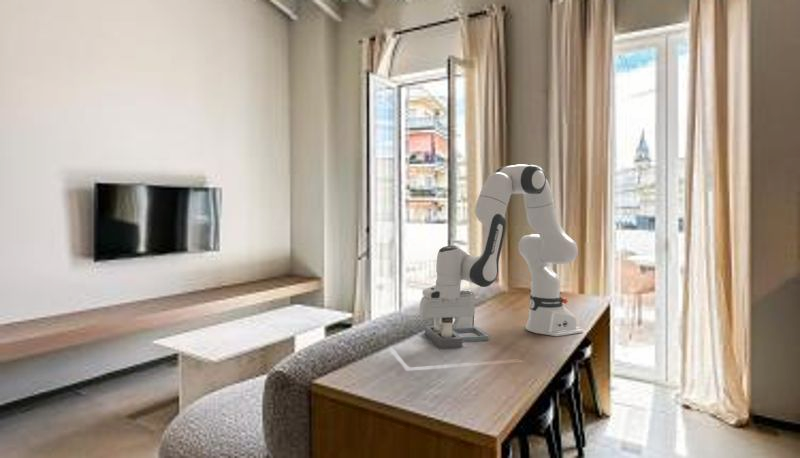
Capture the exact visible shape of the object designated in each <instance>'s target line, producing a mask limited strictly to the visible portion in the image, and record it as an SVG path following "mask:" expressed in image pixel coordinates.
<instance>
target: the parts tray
mask: <svg viewBox="0 0 800 458" xmlns="http://www.w3.org/2000/svg"><path fill="white" fill-rule="evenodd" d="M452 331H453V332H454V333H456V334H457V335H458V336H460V337H461V338H462V343H463V342H477V341H489V335H488V334H487V333H485V332H483V331H482V330H481V329H479V328H477V327H475V326H473V327H470V328H457V329H452ZM473 332H474V333H475V334H477V335H475V336H474V335H473V336H472V335H471V336H461V335H460V334H459V333H473Z"/></svg>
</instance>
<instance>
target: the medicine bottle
mask: <svg viewBox="0 0 800 458" xmlns="http://www.w3.org/2000/svg"><path fill="white" fill-rule="evenodd" d="M474 325H475V314H474V315H473V316H472V317H460V321H459V322H458V324H457V328H470V327H475V326H474Z"/></svg>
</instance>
